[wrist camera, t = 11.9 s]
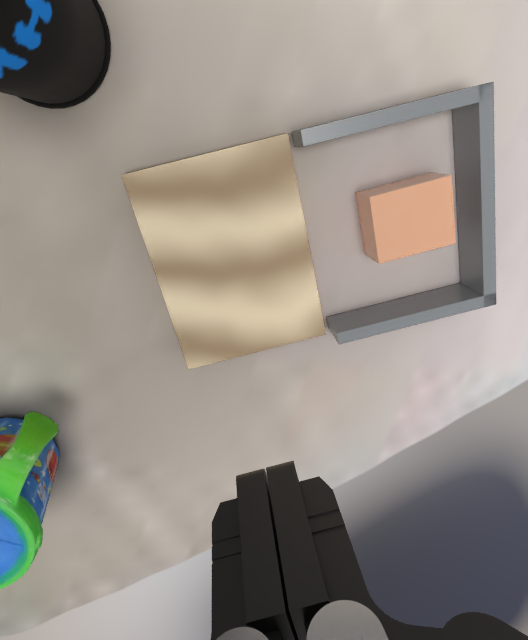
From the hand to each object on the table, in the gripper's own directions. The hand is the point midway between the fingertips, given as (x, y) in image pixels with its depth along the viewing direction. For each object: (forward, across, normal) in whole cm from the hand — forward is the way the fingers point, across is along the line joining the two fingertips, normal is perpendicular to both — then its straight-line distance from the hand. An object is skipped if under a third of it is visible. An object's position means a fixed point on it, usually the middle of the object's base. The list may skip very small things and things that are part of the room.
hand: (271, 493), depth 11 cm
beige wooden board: (+25, 0, 0) cm, 25 cm away
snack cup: (+25, +23, +12) cm, 36 cm away
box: (+25, -13, 0) cm, 28 cm away
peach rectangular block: (+25, -14, 0) cm, 29 cm away
